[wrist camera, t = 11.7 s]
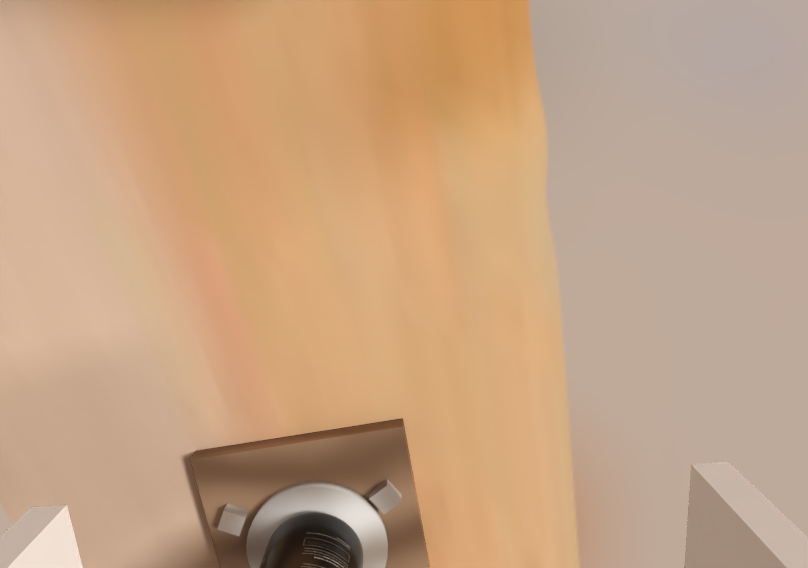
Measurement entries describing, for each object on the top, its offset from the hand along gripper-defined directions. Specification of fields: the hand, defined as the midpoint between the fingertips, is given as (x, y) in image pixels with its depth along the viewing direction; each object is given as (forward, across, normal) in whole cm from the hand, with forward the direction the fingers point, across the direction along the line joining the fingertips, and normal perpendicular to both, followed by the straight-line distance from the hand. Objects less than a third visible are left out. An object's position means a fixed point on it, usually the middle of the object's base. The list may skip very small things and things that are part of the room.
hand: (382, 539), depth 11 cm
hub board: (+25, -7, -19) cm, 32 cm away
